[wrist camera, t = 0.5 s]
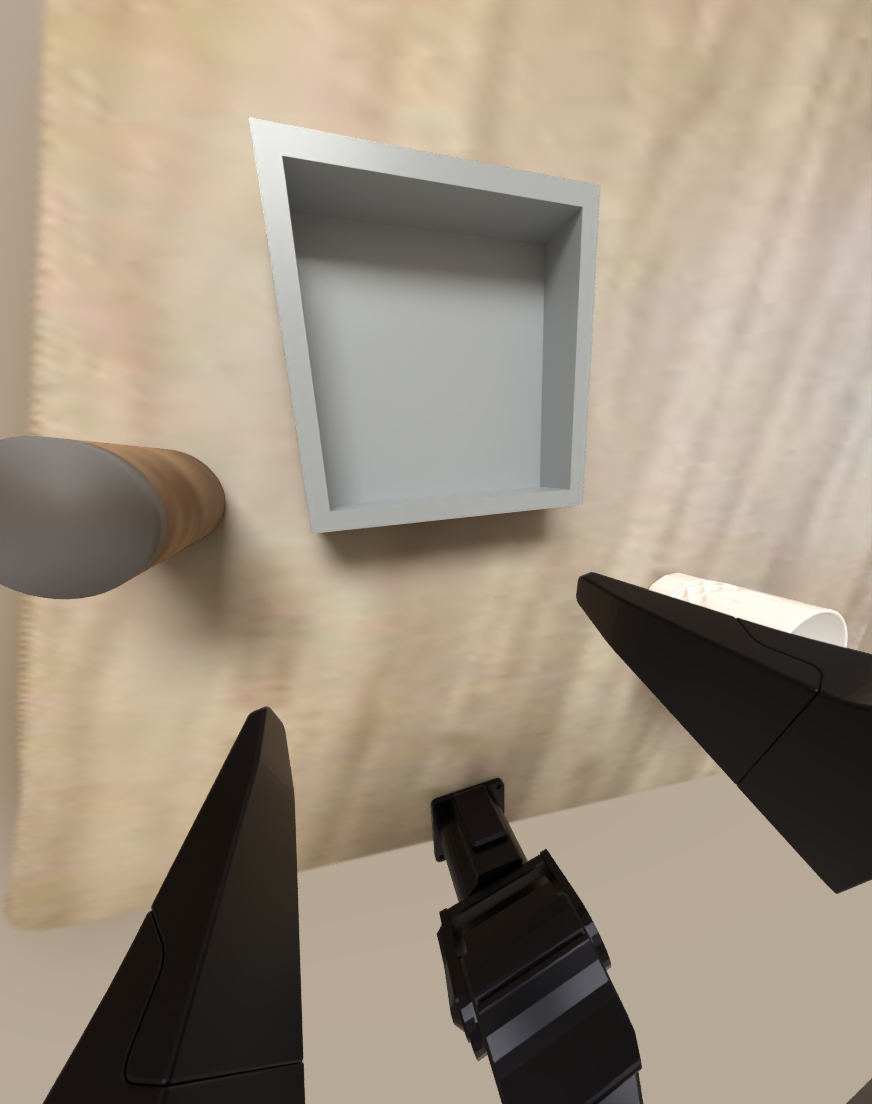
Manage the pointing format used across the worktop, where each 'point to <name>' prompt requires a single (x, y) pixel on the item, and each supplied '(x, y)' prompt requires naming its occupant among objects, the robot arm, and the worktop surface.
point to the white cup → (757, 607)
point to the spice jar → (96, 513)
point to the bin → (429, 327)
